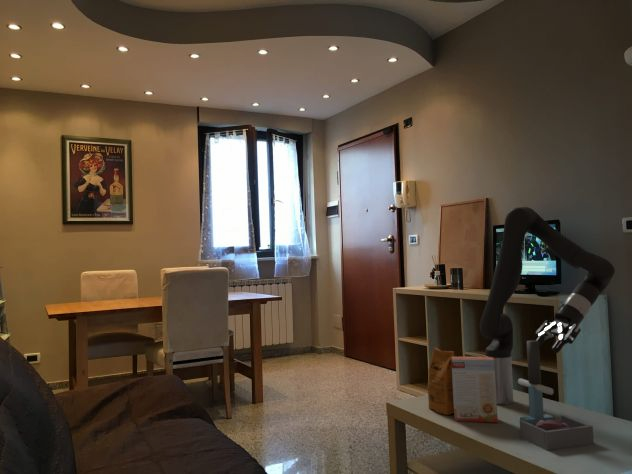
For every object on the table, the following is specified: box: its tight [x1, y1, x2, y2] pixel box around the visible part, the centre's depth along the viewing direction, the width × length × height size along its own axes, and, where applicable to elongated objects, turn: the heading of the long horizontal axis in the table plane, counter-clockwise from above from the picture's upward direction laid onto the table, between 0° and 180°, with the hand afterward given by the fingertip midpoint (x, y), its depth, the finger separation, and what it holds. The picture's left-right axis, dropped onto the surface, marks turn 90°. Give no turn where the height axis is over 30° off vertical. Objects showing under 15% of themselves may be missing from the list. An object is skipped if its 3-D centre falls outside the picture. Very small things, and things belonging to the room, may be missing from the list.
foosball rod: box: [517, 339, 555, 426], centre depth 156 cm, size 14×10×28 cm
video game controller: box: [536, 419, 570, 431], centre depth 149 cm, size 10×5×7 cm, turn 62°
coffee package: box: [427, 347, 457, 416], centre depth 181 cm, size 10×12×22 cm
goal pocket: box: [519, 414, 595, 451], centre depth 148 cm, size 12×16×5 cm
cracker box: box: [452, 356, 499, 424], centre depth 170 cm, size 14×6×21 cm, turn 74°
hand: (544, 349), depth 158 cm, fingers open, 8 cm apart
